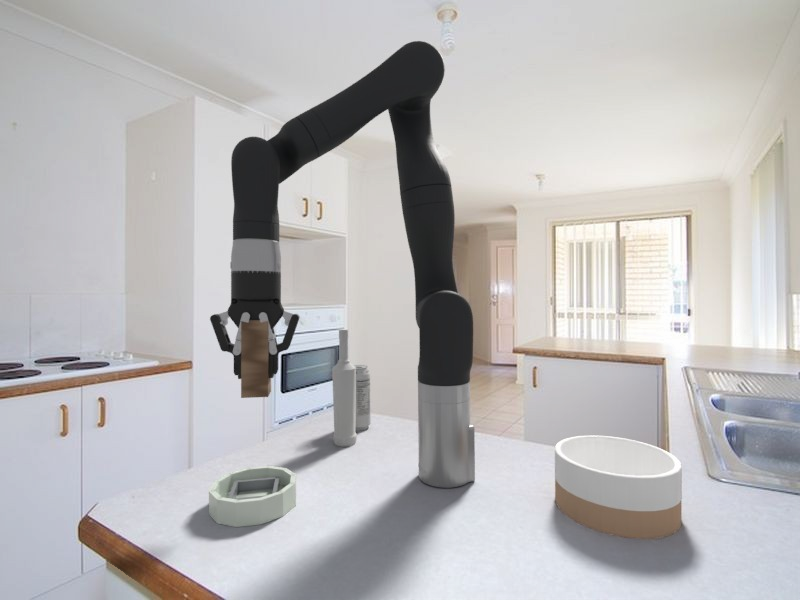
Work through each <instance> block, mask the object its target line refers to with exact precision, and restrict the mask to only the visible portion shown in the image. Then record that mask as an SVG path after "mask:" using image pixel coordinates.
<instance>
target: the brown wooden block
mask: <svg viewBox="0 0 800 600" xmlns="http://www.w3.org/2000/svg"><path fill="white" fill-rule="evenodd" d="M268 333H269V332H268V321H265V322H260V320H249V322H248V323H247V322H243V321H241V379H240V398H241V399H244V398H245V399H248V398H250V399H251V398H269V396H270V394H271V392H272V378H269V354H270V352H269V340H268Z"/></svg>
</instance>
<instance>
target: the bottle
mask: <svg viewBox="0 0 800 600" xmlns="http://www.w3.org/2000/svg"><path fill="white" fill-rule="evenodd" d="M338 339H339V341H338V342H339V344H338V346H339V349H338V351H339V353H338V356H339V359H338V360H337V363H336V364H335V365H334V366H333V367H332V368H331V369H332V371H331V372H332V377H331V378H332V398H333V399H332V400H333V401H332V403H333V404H332V405H333V430H334V431H333V437H332V439H333V440H332V441H333V444H334V445H335V446H338V447H351V446H353V445H355V444H356V442H357V437H358V434H357V433H356V431H355V422H356V367H355V366H353V365H354V364H353V363H351V360H350V358H349V329H344V328H341V329H340V328H339V329H338Z"/></svg>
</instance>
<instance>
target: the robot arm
mask: <svg viewBox="0 0 800 600" xmlns="http://www.w3.org/2000/svg"><path fill="white" fill-rule="evenodd" d="M445 68H446V67H445V61H444V58H443V56H442V54H441V53H440V51H439V50H438V49H437V48H436V47H435V46H434V45H432V44H431V43H429V42H426V41H422V40H417V41H416V40H415V41H410V42H407V43H405V44H404V45H402V46H401V47H400V48H399V49H397V50H395V52H394V53H393V54H391V55H390V56H389V57H388V58H386V59H385V60H384V61H383V62H382V63H380V64H379V65H378V66H377V67H375V68H374V69H373V70H371V71H370V72H368V73H367V74H366V75H365V76H363V77H361V78H360V79H358V80H356V82H354V83H352V84H350V86H347V87H346V88H345V89H343V90H341V91H340V92H338V93H336V94H335V95H333V96H331V97H330V98H328V99H326V100H324V101H323V102H320V103H318V104H317V105H314V106H312V107H311V108H308V110H305V111H303V112H302V113H300V114H298V115H296V116H295V117H293V118H292V119H290V120H288V121H286V122H285V123H284V124H283V125H282V126H281V128H280V130H279V131H278V132H277V134H275V135H274V136H273V137H270V138H269V139H268V140H266V139H264V138H262V137H259V136H249V137H248V136H247V137H245V138H243V139H241V140H240V141H239V142H237V143H236V145H235V146H234V148H233V150H232V154H231V162H230V163H231V164H230V165H231V183H232V184H231V185H232V195H233V216H232V245H231V246H232V247H231V256H230V264H229V265H230V304H229V307H228V308H227V311H223V312H221V313H214V314H212V315H210V317H209V320H210V324H211V326H212V329H213V332H214V333H215V337H216V339H217V342H218V345H219V348H220V350H221V351H222V352H227V353H230V354H231V355H232V356H233V374H234V376H237V379H238V380H241V321H243V322H247V323H248V322H249V320H260V322H265V321H268V332H269V333H268V340H269V352H270V354H269V378H271V379H273V378H274V377H275V375H277V373H278V371H279V354H280V353H281V352H284V351H287V350H288V349H289V348H290V347H291V343H292V341H293V338H294V335H295V332H296V330H297V326H298V323H299V320H300V318H301V317H300V315H299V314H298V313H292V312H288V311H286V310H285V308H284V307H283V304H282V294H281V293H282V255H281V249H280V248H281V246H280V215H279V208H278V204H279V187H280V186H279V185H280V184H282V183H283V182H284V181H286V180H287V179H288V178H290V177H291V176H292V175H294V174H295V173H297V172H298V171H299V170H300V169H301V168H303V167H304V166H305V165H307V164H309V163H311V162H313V161H315V160H317V159H318V158H320V157H322V156H324V155H325V154H327V153H330V152H331V151H332V150H334V149H336V148H337V147H339V146H340V145H342V144H344V143H345V142H347V140H349V139H350V138H352V137H353V136H354V135H355V134H356V133H358V132H359V131H360V130H361V129H362V128H364V127H365V126H366V125H368V124H369V123H370V122H371V121H373V120H374V119H375V118H377V117H378V116H380V115H381V114H383V113H384V112H385V111H388V115H389V120H390V123H391V127H392V132H393V137H394V143H395V144H394V145H395V156H396V165H397V175H398V183H399V184H398V185H399V194H400V195H399V196H400V203H401V210H402V217H403V222H404V228H405V233H406V238H407V242H408V248H409V253H410V256H411V261H412V264H413V272H414V273H413V274H414V275H413V276H414V287H415V288H414V291H415V292H414V293H415V321H416V325H417V327H418V329H419V334H418V335H419V358H418V365H417V413H418V414H417V417H418V419H417V421H418V422H417V423H418V428H417V429H418V432H417V433H418V434H417V435H418V441H417V442H418V479H420V481H421V482H423V483H424V484H427V485H429V486H431V487H436V488H443V489H446V488H449V489H450V488H457V487H461V486H464V485H467V483H469V482H470V483H471V482H475V480H476V472H475V471H476V458H475V457H476V455H475V454H476V450H475V447H476V446H475V441H476V440H475V436H476V435H475V430H476V429H475V426H474V425H473V424H472V423H471V370H472V367H473V366H472V365H473V361H474V358H473V357H474V355H473V354H474V317H473V310H472V308H471V304H470V303H469V302H468V300H467V299H466V298H465V297H464V296H463V295H461V294H460V293H459V292H458V291H459V290H458V288H457V282H456V278H455V277H456V276H455V272H454V264H453V254H454V253H453V251H454V250H453V249H454V240H455V224H456V222H455V219H456V217H455V204H454V197H453V188H452V183H451V181H452V180H451V178H450V173H449V170H448V168H447V166H446V164H445V162H444V160H443V158H442V155H441V154H440V152H439V150H438V148H437V146H436V143H435V141H434V136H433V131H432V130H433V129H432V119H431V100H432V99H433V97H434V96H435V95H436V93H437V92H438V91H439V89H440V87H441V85H442V83H443V81H444V80H443V79H444V77H445V72H446V69H445ZM282 318H283V319H284V325H285V326H286V327H287V329H286V331H285V333H284V337H283V338H282V342H280V343H278V341H277V336H276V333H275V327H276V325H277V324H278V323H279V321H280V320H281V319H282ZM229 319H231V321H232V322H233V323H234V325H235V326H236V327H237V328H238V329H237V332H236V336H235V341H234V343H232V341H231V339H230V338H231V337H230V336H229V333H228V331H227V327H226V326H227V325H228V323H229Z"/></svg>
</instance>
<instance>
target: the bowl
mask: <svg viewBox="0 0 800 600" xmlns="http://www.w3.org/2000/svg"><path fill="white" fill-rule="evenodd" d="M682 468H683V466H682V463H681V461H680V460H679V458H677V457H676V456H675V455H674V454H672V453H671V452H669V451H666V449H665V450H664V449H662V448H660V447H658V446H656V445H653V444H650V443H646V442H641V441H639V440H634V439H630V438H624V437H617V436H611V435H610V436H609V435H608V436H607V435H596V434H595V435H593V434H592V435H576V436H571V437H567V438H564V439H561V440H560V441H558V442H557V443H556V445H555V446H554V490H555V491H554V493H555V494H554V496H555V497H554V500H555V503H556V505H557V507H558V509H559V510H560V511H561V512H562V513H563V514H564V515H566V516H567V517H568V518H569V519H571V520H573V521H575V523H578V524H580V525H582V526H584V527H587V528H589V529H592V530H594V531H598V532H600V533H603V534H606V535H611V536H616V537H621V538H628V539H638V540H650V539H651V540H654V539H660V538H665V537H668V536H671V535H673V534H675V533H677V532H678V531H679V529H680V528H681V526H682V499H683V485H682V484H683V469H682Z"/></svg>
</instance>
